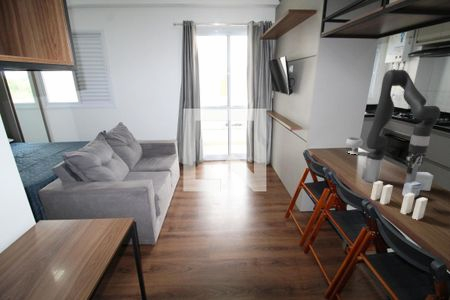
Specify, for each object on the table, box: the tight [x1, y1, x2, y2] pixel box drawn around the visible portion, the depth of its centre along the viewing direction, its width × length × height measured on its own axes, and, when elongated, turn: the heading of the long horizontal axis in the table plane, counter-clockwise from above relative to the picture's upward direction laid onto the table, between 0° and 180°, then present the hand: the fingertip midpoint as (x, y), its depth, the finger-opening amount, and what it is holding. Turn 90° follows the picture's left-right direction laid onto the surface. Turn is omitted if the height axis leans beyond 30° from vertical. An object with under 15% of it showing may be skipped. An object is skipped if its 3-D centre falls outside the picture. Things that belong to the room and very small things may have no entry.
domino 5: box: [411, 196, 428, 221], centre depth 112 cm, size 2×5×11 cm, turn 113°
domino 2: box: [379, 184, 394, 206], centre depth 126 cm, size 2×5×11 cm, turn 113°
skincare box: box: [406, 171, 434, 191], centre depth 142 cm, size 10×6×10 cm, turn 73°
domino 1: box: [370, 180, 384, 201], centre depth 131 cm, size 2×5×11 cm, turn 113°
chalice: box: [345, 136, 364, 156], centre depth 213 cm, size 14×14×15 cm
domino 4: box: [399, 192, 416, 215], centre depth 117 cm, size 2×5×11 cm, turn 113°
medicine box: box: [401, 181, 421, 198], centre depth 133 cm, size 8×4×9 cm, turn 106°
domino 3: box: [404, 163, 420, 183], centre depth 121 cm, size 2×5×11 cm, turn 113°
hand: (412, 172), depth 121 cm, fingers closed on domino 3, 5 cm apart
